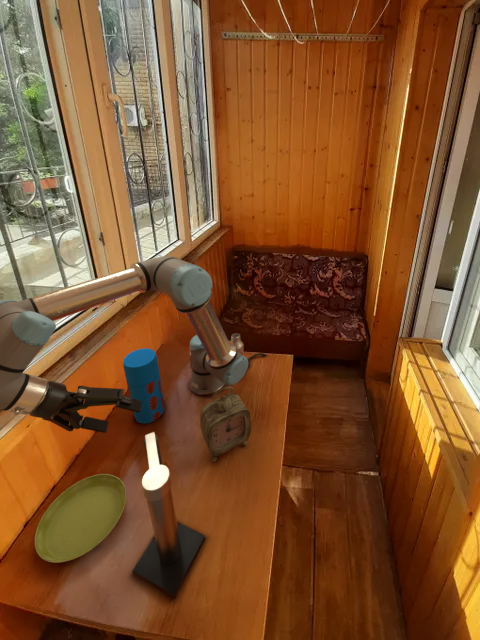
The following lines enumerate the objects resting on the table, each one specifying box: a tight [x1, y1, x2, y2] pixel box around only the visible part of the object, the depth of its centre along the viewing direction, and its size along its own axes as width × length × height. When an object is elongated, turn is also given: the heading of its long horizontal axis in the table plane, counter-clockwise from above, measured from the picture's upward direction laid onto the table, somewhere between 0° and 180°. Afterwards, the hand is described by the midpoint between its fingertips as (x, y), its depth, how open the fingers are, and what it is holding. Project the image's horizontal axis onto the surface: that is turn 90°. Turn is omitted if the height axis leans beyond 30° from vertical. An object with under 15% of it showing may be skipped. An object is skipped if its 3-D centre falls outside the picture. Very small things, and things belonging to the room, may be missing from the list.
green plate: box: [34, 473, 127, 564], centre depth 83 cm, size 21×21×3 cm
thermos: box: [122, 347, 165, 424], centre depth 114 cm, size 11×11×25 cm
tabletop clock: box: [199, 386, 252, 463], centre depth 101 cm, size 14×9×25 cm, turn 123°
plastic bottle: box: [230, 332, 245, 356], centre depth 134 cm, size 6×7×20 cm
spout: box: [141, 431, 172, 501], centre depth 76 cm, size 18×6×22 cm, turn 29°
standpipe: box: [132, 488, 206, 600], centre depth 73 cm, size 12×12×24 cm
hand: (123, 417), depth 83 cm, fingers open, 13 cm apart
